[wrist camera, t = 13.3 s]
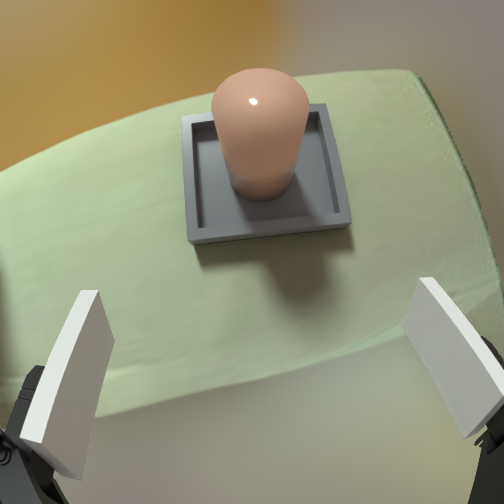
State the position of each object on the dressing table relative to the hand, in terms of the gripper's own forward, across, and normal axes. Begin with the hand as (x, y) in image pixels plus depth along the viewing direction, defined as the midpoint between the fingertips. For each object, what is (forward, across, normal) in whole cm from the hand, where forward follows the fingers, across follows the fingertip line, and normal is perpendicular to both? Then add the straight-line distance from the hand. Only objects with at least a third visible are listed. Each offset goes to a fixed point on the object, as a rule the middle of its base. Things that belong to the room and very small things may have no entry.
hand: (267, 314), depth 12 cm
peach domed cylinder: (+21, +2, 0) cm, 22 cm away
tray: (+22, +2, -1) cm, 22 cm away
